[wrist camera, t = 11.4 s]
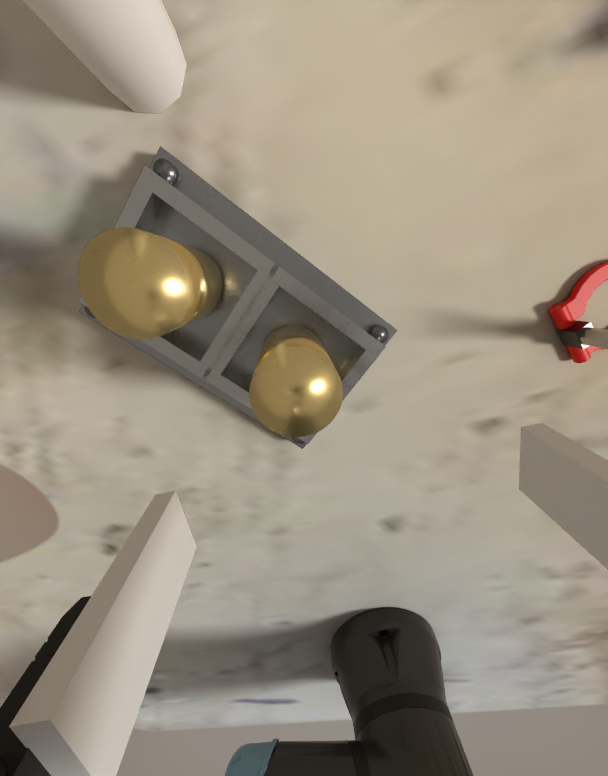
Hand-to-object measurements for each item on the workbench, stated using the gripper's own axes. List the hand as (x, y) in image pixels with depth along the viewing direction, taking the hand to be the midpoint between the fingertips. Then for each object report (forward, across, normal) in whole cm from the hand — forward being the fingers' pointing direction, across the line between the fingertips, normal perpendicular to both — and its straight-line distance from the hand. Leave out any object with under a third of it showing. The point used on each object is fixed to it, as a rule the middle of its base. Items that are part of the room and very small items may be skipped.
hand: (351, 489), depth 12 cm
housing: (+21, -6, +5) cm, 22 cm away
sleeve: (+19, -2, +1) cm, 19 cm away
